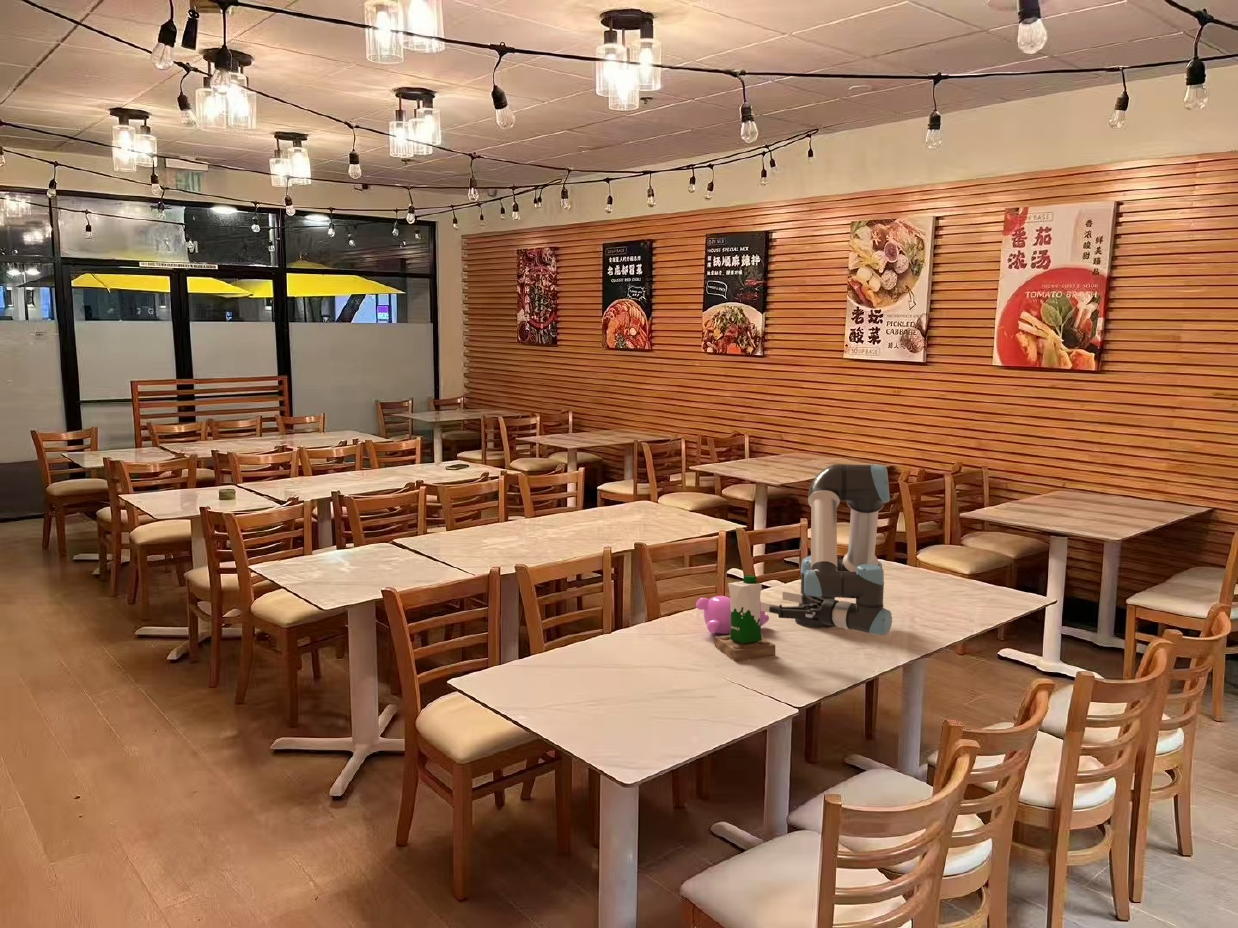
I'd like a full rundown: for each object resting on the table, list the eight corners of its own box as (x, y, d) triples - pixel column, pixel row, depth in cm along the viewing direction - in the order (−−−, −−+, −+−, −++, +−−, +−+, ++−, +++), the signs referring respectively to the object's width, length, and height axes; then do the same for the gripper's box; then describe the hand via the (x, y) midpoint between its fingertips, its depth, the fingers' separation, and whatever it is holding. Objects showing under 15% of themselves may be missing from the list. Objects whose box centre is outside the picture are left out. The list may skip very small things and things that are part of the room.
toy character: (745, 613, 319) (685, 611, 308) (761, 585, 312) (700, 583, 301) (764, 645, 308) (702, 645, 296) (781, 618, 301) (718, 616, 290)
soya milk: (766, 640, 282) (764, 577, 281) (742, 644, 277) (741, 580, 277) (749, 635, 289) (747, 573, 289) (725, 639, 285) (724, 576, 285)
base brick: (714, 648, 289) (714, 636, 288) (753, 643, 294) (753, 630, 293) (734, 663, 276) (734, 649, 275) (775, 657, 281) (775, 644, 280)
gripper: (817, 637, 254) (751, 623, 267) (854, 614, 273) (791, 602, 286) (818, 611, 253) (752, 598, 266) (855, 590, 272) (791, 579, 285)
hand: (772, 600), depth 276 cm, fingers open, 13 cm apart
